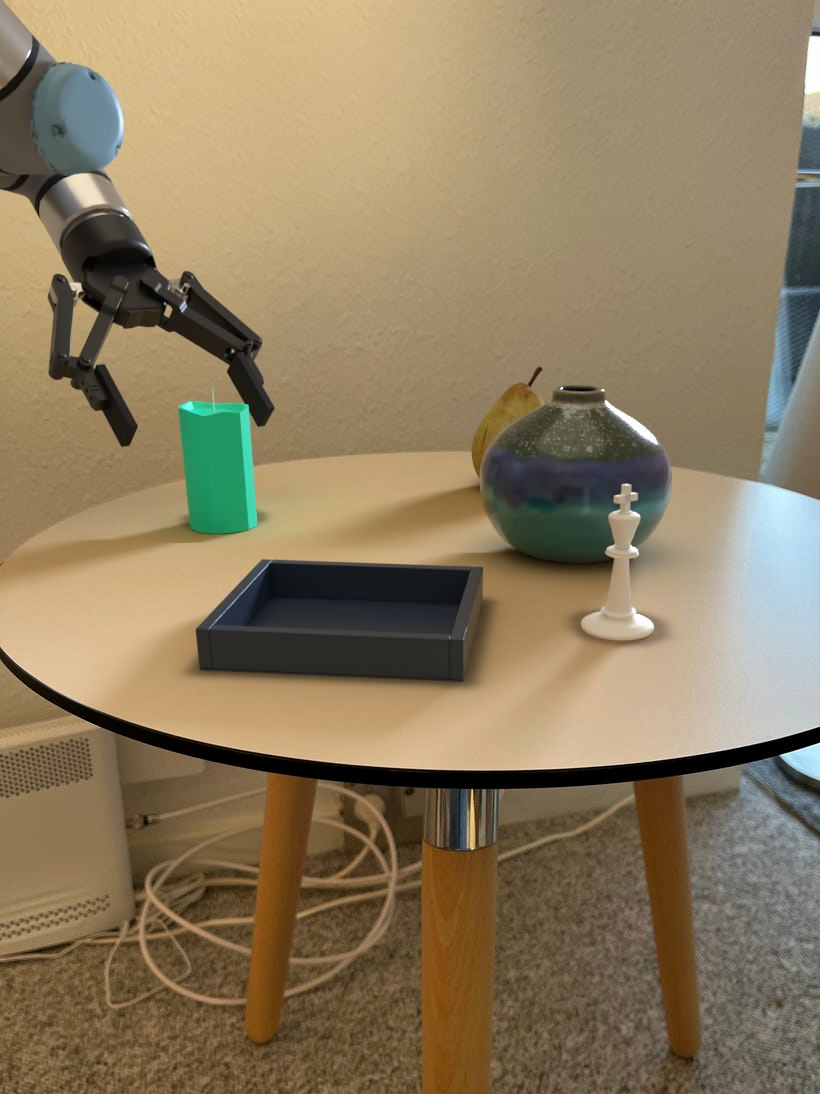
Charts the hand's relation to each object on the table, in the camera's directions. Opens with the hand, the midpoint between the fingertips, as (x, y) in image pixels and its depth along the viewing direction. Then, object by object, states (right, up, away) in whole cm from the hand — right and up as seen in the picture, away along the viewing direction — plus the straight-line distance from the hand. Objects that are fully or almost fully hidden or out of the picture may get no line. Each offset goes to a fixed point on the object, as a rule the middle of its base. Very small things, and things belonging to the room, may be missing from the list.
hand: (201, 427), depth 89 cm
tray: (+16, -19, -24) cm, 34 cm away
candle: (+2, -9, +1) cm, 9 cm away
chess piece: (+34, -19, -22) cm, 44 cm away
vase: (+32, -12, -5) cm, 35 cm away
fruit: (+28, -3, +16) cm, 33 cm away
